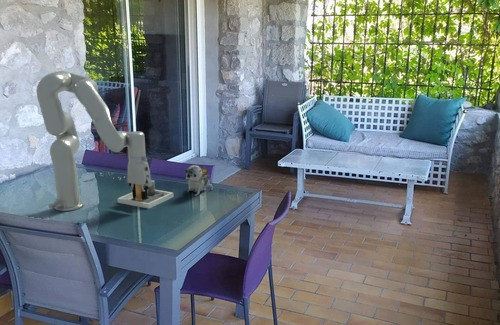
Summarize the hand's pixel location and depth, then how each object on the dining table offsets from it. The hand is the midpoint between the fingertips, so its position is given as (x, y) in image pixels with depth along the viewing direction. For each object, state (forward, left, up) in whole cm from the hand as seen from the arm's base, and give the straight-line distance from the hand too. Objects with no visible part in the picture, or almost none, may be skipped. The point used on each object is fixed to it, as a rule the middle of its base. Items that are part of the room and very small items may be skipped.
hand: (140, 197), depth 222 cm
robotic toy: (+25, -15, -3) cm, 29 cm away
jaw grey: (+8, 0, -2) cm, 8 cm away
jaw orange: (0, 0, -1) cm, 1 cm away
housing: (+4, 0, -3) cm, 5 cm away
